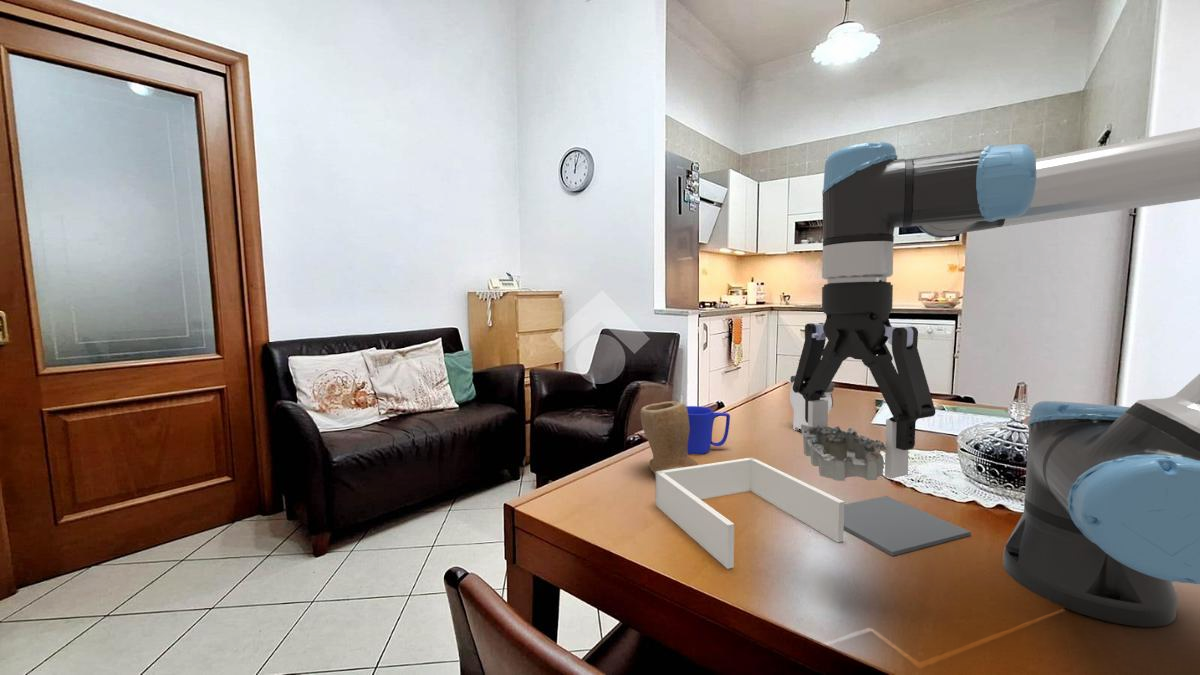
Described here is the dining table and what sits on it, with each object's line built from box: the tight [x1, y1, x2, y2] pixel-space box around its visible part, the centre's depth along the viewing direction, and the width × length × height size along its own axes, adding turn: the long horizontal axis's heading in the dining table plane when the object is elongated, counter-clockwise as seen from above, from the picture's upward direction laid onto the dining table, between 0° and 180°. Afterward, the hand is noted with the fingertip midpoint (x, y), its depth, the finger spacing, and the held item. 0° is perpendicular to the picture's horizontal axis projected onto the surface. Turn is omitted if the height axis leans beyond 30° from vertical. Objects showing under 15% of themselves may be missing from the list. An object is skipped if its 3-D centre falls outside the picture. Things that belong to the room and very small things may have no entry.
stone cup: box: [640, 401, 700, 476], centre depth 96 cm, size 15×12×15 cm
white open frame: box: [654, 456, 845, 570], centre depth 77 cm, size 21×20×6 cm
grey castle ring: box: [800, 424, 886, 482], centre depth 59 cm, size 11×8×4 cm
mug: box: [685, 405, 731, 455], centre depth 111 cm, size 8×12×10 cm
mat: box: [844, 495, 972, 557], centre depth 76 cm, size 14×16×1 cm
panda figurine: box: [789, 375, 835, 431], centre depth 123 cm, size 12×11×15 cm
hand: (853, 460), depth 60 cm, fingers closed on grey castle ring, 10 cm apart
